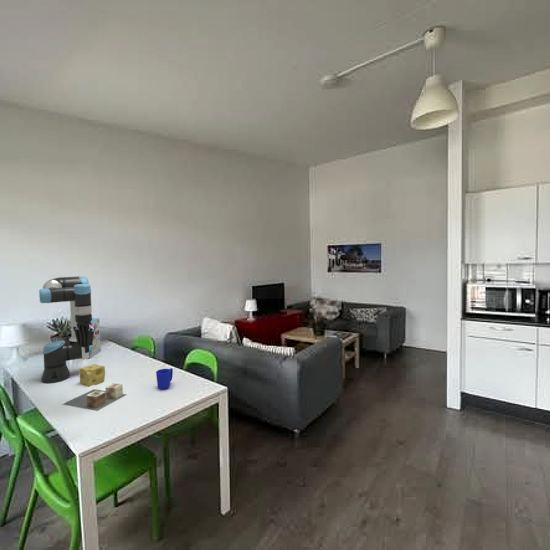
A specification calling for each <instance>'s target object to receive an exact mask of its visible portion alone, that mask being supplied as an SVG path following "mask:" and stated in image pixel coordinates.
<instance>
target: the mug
mask: <svg viewBox="0 0 550 550" xmlns="http://www.w3.org/2000/svg"><path fill="white" fill-rule="evenodd" d="M173 371H174V369H173V368H172V367H171V368H162V369H158V370H156V371H155V376H156V384H157V388H158V389H159V390H166V389H169V388H170V386H171V381H172V380H173V375H174V374H173Z"/></svg>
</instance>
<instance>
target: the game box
mask: <svg viewBox="0 0 550 550" xmlns="http://www.w3.org/2000/svg"><path fill="white" fill-rule="evenodd" d="M91 325H92V327H93V328H94V327H95V331H94V336H93V343H92V353H91V356H89V358H87V359H86V360H90V359H91V358H93V357H94V356H96V355H97V354H98V353H99V352H101V351H102V348H101V346H102V345H101V328H100V327H101V326H100V318H99V317H97V318H93V317H92V321H91Z"/></svg>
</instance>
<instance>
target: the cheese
mask: <svg viewBox="0 0 550 550" xmlns="http://www.w3.org/2000/svg"><path fill="white" fill-rule="evenodd" d="M105 378H106V368H105V365H99V364H97V363H94V364H90V365H87V366H82V367H80V368H79V383H80V385H85V386H87V387H92V386H96V385H99V384H101V383H105V380H106V379H105Z"/></svg>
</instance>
